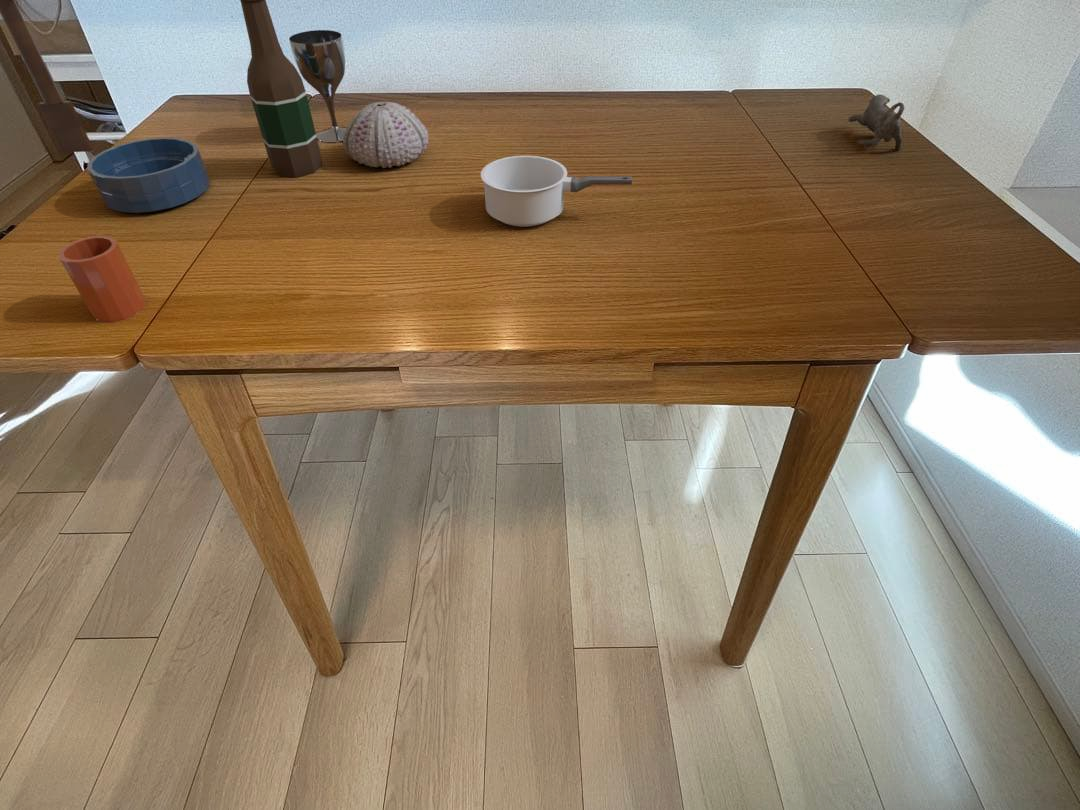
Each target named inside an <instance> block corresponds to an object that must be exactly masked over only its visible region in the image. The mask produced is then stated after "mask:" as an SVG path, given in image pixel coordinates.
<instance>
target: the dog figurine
mask: <svg viewBox="0 0 1080 810" xmlns="http://www.w3.org/2000/svg"><path fill="white" fill-rule="evenodd" d="M890 102H891V98H889V97H887V96H886V95H884V94H877V95H874V96H873V97H871V99H870V100H869V103H868V105H867V107H866V109H865V110H864V112H863V114H853V115H851V116H849V117H848V121H847V122H849V123H853V122H858V124H860V125H861V126H863V127H866V128H867V129H868V130H869V131H871V132H872V133H873V137H872V138H867V139H863V140H861V142H859V145H860V146H863V147H864V146H865V147H876V146H878V144H879V143H880V142H881V140H883V141H884V143H890V141H891V140H892V139H894V141H895V146H894V149H895V150H896V151H900V150H902V146H903V144H902V143H903V137H902V134H901V133H902V121H901V117H902V115H903V113H904V111H905V104H904V103H903V102H897V103H895V104H893V105H892V106H891V107H890V108H889V109H888V110H886V109H885V107H886V105H887V104H889V103H890ZM898 107H899V109H898V111H897V112H895V110H896V109H897V108H898Z"/></svg>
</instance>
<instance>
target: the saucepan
mask: <svg viewBox="0 0 1080 810" xmlns="http://www.w3.org/2000/svg"><path fill="white" fill-rule="evenodd" d="M480 178H481V180H482V181H483V186H484V198H485V199H484V200H485V201H484V202H485V210H486V212H487V214H488V215H489V216H491V217H492V218H493V219H495V220H497V221H500V222H501V223H503V224H505V225H509V226H514V227H527V228H528V227H535V226H539V225H544V224H545V223H547V222H549V221H551V220H553V219H555V218H557V217H558V216H559V215H560V214H562V212H563V210H564V208H565V207H564V206H565V192H568V193H569V192H570V193H578V192H581V191H582V190H584V189H585V188H589V187H591V186H598V185H600V186H601V185H602V186H604V185H605V186H607V185H608V186H609V185H611V186H612V185H613V186H615V185H617V186H618V185H619V186H621V185H623V186H624V185H625V186H626V185H628V186H629V185H633V176H606V175H605V176H599V175H598V176H596V175H595V176H593V175H591V176H584V177H576V176H568V170H567V168H566V167H565V165H563V164H562V163H561V162H559V161H557V160H554V159H553V158H552V159H551V158H548V157H545V156H537V155H514V156H508V157H507V156H506V157H503V158H499V159H497V160H494V161H490V162H489V163H488V164H486V165H485V166H484V167H483V168H482V169H481V171H480Z"/></svg>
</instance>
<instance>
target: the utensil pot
mask: <svg viewBox="0 0 1080 810" xmlns="http://www.w3.org/2000/svg"><path fill="white" fill-rule="evenodd" d="M58 258H59V260H60V262H61V264H62V265H63V267H64V269H65V271H66V272H67V274H68V276H69V278H70V279H71V282H72V283H73V285H74V286H75V288H76V290H77V291H78V294H79V295H80V296H81V299H82V300H83V302H84V303H85V305H86V307H87V309H88V310H89V312H90V314H91V316H92V317H93V319H95V320H96V321H98V322H102V323H115V322H121V321H124V320H128V319H130V318H133V317H134V316H136V315H138V314H139V313H140V312H142V311H143V310H144V308H145V307H146V305H147V300H146V297H145V295H144V293H143V291H142V289H141V287H140V285H139V283H138V282H137V279H136V277H135V275H134V274H133V271H132V269H131V267H130V265H129V263H128V261H127V259H126V257H125V255H124V253H123V250H122V249H121V247H120V245H119V243H118V241H117V239H116V238H114V237H112V236H109V235H94V236H88V237H83V238H80V239H77V240H74V241H72V242H70V243H69V244H67V245H65V246H64V247H62V248H61V250H59V252H58Z"/></svg>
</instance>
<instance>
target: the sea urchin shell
mask: <svg viewBox="0 0 1080 810" xmlns="http://www.w3.org/2000/svg"><path fill="white" fill-rule="evenodd" d="M345 127H346V131H345V134H344V137H343V139H344V140H343V142H341V143H342V145H343V150H344V151H345V152H346V155H347V156H348V155H349V157H350V159H353V161H356V162H358V164H360V165H362V164H363V165H365V166H369V167H370V168H373V167H374V168H376V169H377V168H378V167H382V168H383V169H386V168H389V169H391V168H392V167H394V166H395V167H400V166H404V165H405V164H407V163H413V162H414V161H415V160H416V159H419V157H421V155H423V154H424V153H425V151H426V150H427V149H428V145H429V144H430V143H429V138H430V137H429V131H428V130H427V128H426V126H425V125H424V123H422V122H421V119H419V118H418V117H417V116H416V114H415V113H414V112H412V111H411V109H410V108H407V107H406V106H405V105H401V104H399V103H396V102H390V101H377V102H372V103H369V104H368V105H365V106H364V107H362V108H361V110H359V111H357V113H356V114H355V115H354V116H352V119H351V120H350V121H348V126H345Z"/></svg>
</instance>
